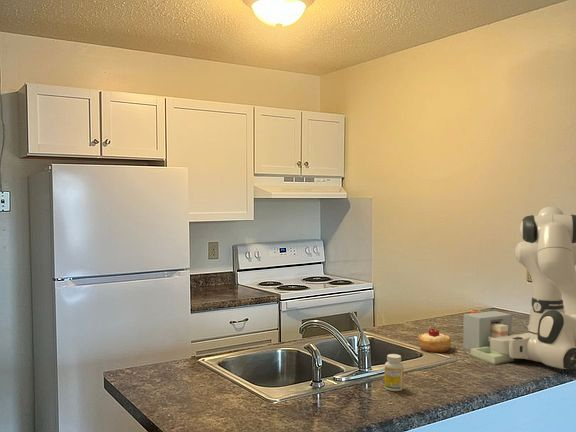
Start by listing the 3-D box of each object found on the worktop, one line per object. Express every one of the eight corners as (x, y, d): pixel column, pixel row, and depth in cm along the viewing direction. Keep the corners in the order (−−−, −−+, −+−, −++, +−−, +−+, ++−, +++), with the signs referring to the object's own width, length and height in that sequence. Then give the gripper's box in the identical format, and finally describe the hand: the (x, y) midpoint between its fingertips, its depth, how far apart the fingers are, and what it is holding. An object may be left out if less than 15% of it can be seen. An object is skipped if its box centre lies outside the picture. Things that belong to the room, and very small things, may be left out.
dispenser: (494, 343, 210) (495, 310, 210) (511, 348, 203) (511, 314, 202) (463, 347, 203) (463, 314, 203) (479, 353, 196) (479, 318, 196)
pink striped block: (494, 348, 202) (495, 322, 202) (507, 353, 196) (508, 325, 196) (487, 350, 200) (487, 323, 200) (500, 354, 195) (500, 326, 195)
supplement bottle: (395, 392, 154) (396, 359, 154) (380, 388, 158) (381, 355, 158) (406, 388, 158) (407, 356, 157) (391, 384, 162) (392, 352, 161)
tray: (489, 353, 196) (489, 346, 196) (513, 361, 186) (513, 353, 186) (470, 355, 192) (470, 348, 192) (494, 364, 182) (494, 356, 182)
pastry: (417, 345, 208) (417, 322, 208) (449, 347, 206) (449, 323, 206) (418, 353, 196) (418, 328, 196) (452, 354, 194) (452, 329, 194)
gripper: (551, 334, 189) (519, 325, 202) (509, 340, 181) (478, 331, 193) (551, 352, 190) (519, 342, 202) (509, 359, 181) (478, 348, 193)
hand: (499, 337), depth 198 cm, fingers open, 8 cm apart
